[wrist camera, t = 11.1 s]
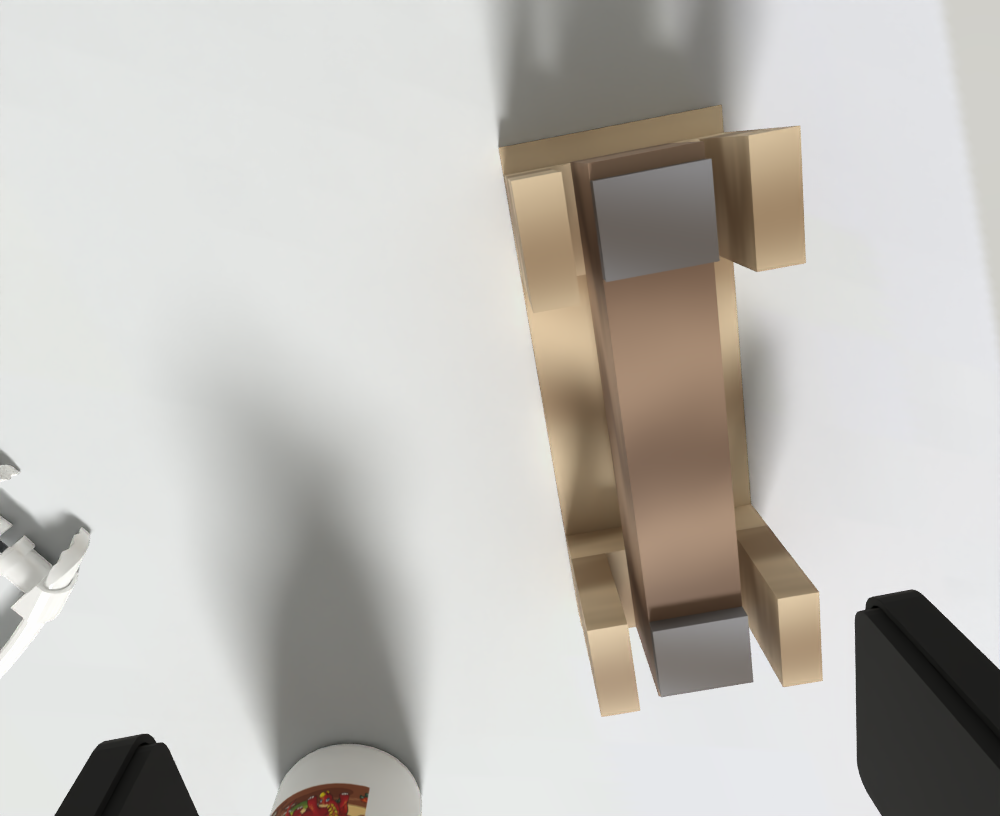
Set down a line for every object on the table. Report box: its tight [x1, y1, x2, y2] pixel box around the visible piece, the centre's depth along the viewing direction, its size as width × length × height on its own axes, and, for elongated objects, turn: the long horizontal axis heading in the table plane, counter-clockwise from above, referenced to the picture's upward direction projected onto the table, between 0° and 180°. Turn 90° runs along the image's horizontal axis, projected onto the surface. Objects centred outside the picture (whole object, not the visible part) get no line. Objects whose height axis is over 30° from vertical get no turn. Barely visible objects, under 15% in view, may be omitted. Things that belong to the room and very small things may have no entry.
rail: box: [570, 141, 753, 697], centre depth 27 cm, size 20×4×5 cm, turn 10°
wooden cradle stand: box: [499, 105, 823, 717], centre depth 28 cm, size 22×8×8 cm, turn 10°
